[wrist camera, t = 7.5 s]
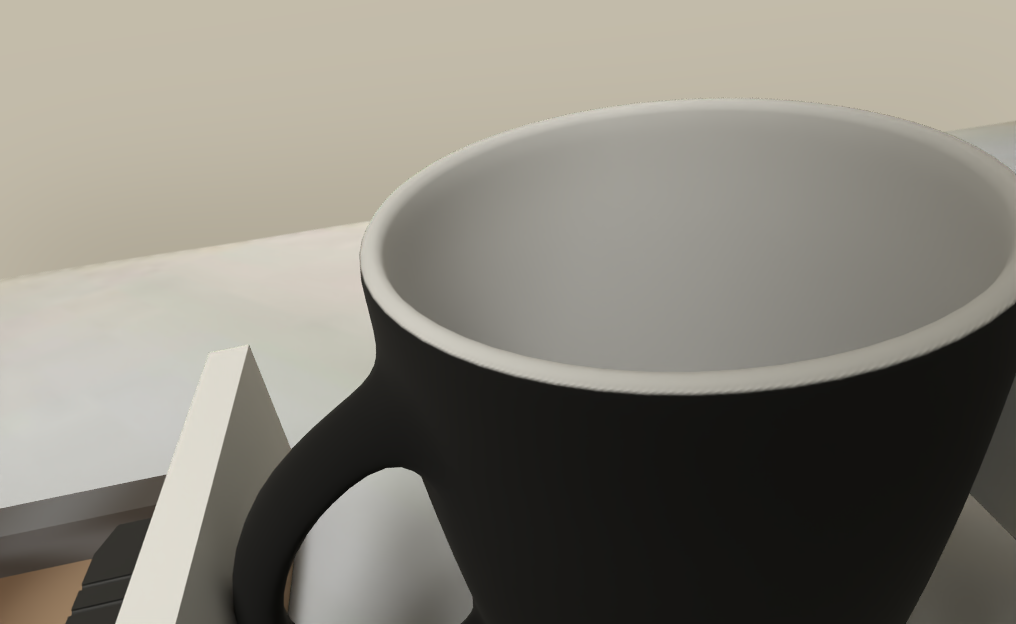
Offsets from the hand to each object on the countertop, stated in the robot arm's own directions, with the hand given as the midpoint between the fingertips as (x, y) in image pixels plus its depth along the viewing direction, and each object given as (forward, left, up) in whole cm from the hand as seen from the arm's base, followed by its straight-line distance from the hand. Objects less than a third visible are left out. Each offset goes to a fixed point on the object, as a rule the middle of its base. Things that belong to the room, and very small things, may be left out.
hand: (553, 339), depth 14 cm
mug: (0, +3, -6) cm, 7 cm away
